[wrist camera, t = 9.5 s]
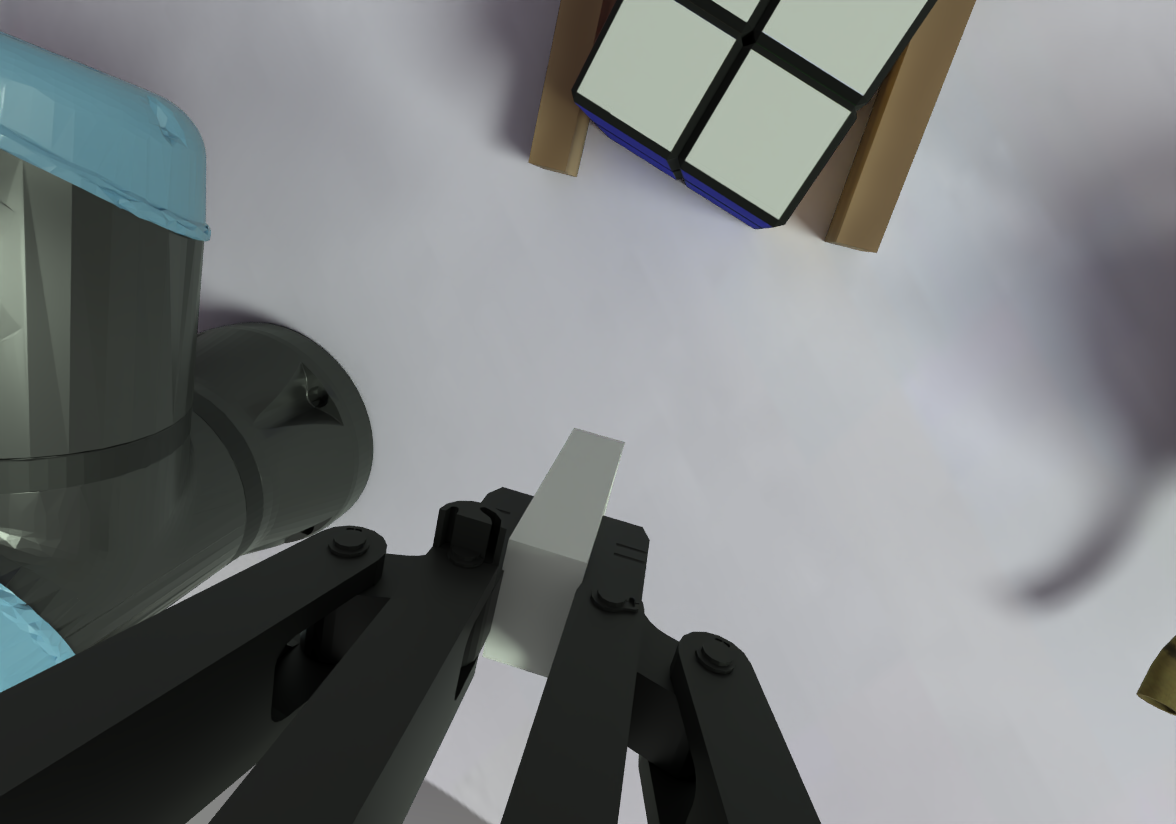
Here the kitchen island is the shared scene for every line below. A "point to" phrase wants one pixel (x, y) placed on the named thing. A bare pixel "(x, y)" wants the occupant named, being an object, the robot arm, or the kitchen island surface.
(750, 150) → the puzzle cube
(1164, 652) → the teapot
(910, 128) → the walnut dock
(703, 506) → the kitchen island surface
